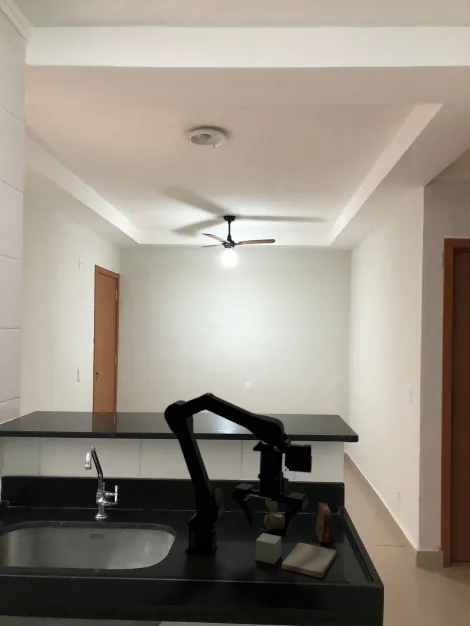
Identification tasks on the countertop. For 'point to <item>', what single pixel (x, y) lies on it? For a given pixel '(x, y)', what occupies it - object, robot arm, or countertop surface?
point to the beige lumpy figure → (273, 517)
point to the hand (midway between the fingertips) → (268, 530)
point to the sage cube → (268, 548)
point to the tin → (323, 522)
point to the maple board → (309, 559)
